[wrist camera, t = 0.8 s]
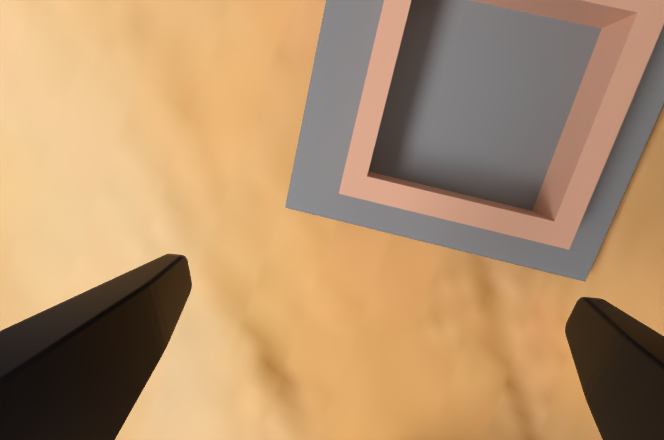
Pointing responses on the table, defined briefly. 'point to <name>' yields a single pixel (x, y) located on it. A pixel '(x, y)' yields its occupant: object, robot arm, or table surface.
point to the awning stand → (481, 122)
